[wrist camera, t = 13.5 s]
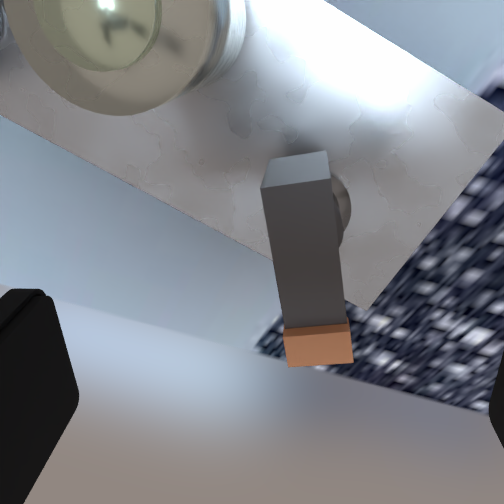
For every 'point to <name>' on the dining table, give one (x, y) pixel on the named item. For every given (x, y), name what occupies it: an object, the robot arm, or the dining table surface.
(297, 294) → the knob
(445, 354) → the dining table surface
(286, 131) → the plate
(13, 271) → the dining table surface
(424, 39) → the dining table surface
